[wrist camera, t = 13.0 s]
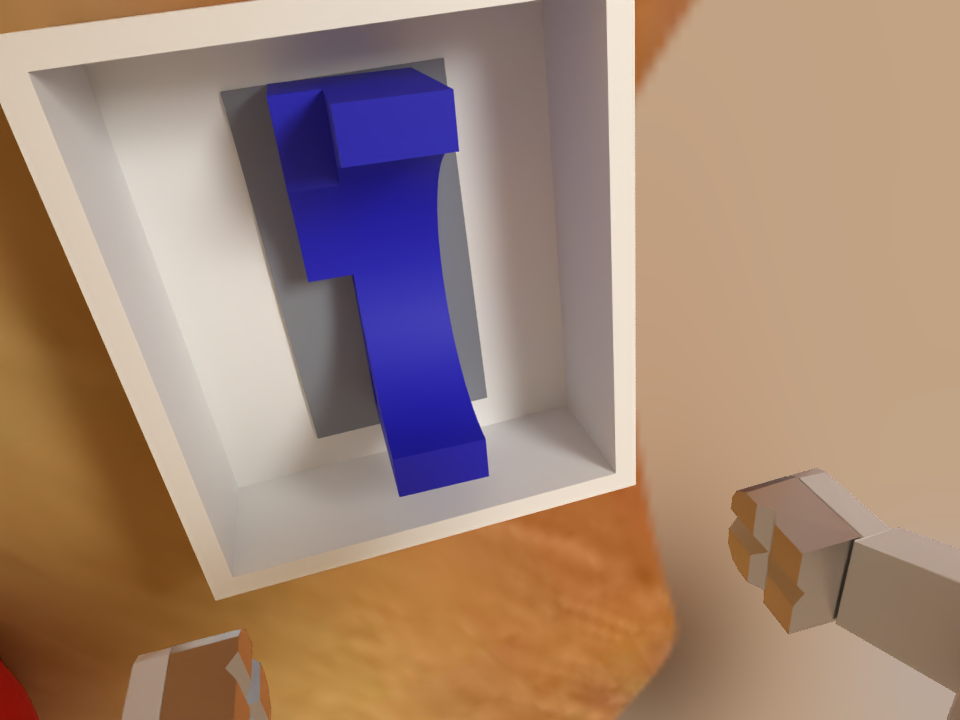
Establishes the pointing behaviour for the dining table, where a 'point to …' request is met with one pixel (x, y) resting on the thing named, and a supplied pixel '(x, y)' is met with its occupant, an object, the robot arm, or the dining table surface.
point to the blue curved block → (385, 250)
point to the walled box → (332, 302)
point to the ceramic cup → (14, 698)
